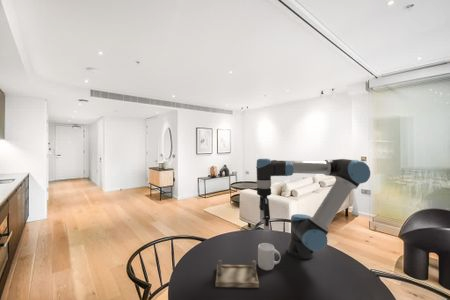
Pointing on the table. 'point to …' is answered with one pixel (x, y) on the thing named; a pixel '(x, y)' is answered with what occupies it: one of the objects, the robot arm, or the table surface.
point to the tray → (237, 275)
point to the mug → (267, 256)
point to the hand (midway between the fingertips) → (264, 226)
